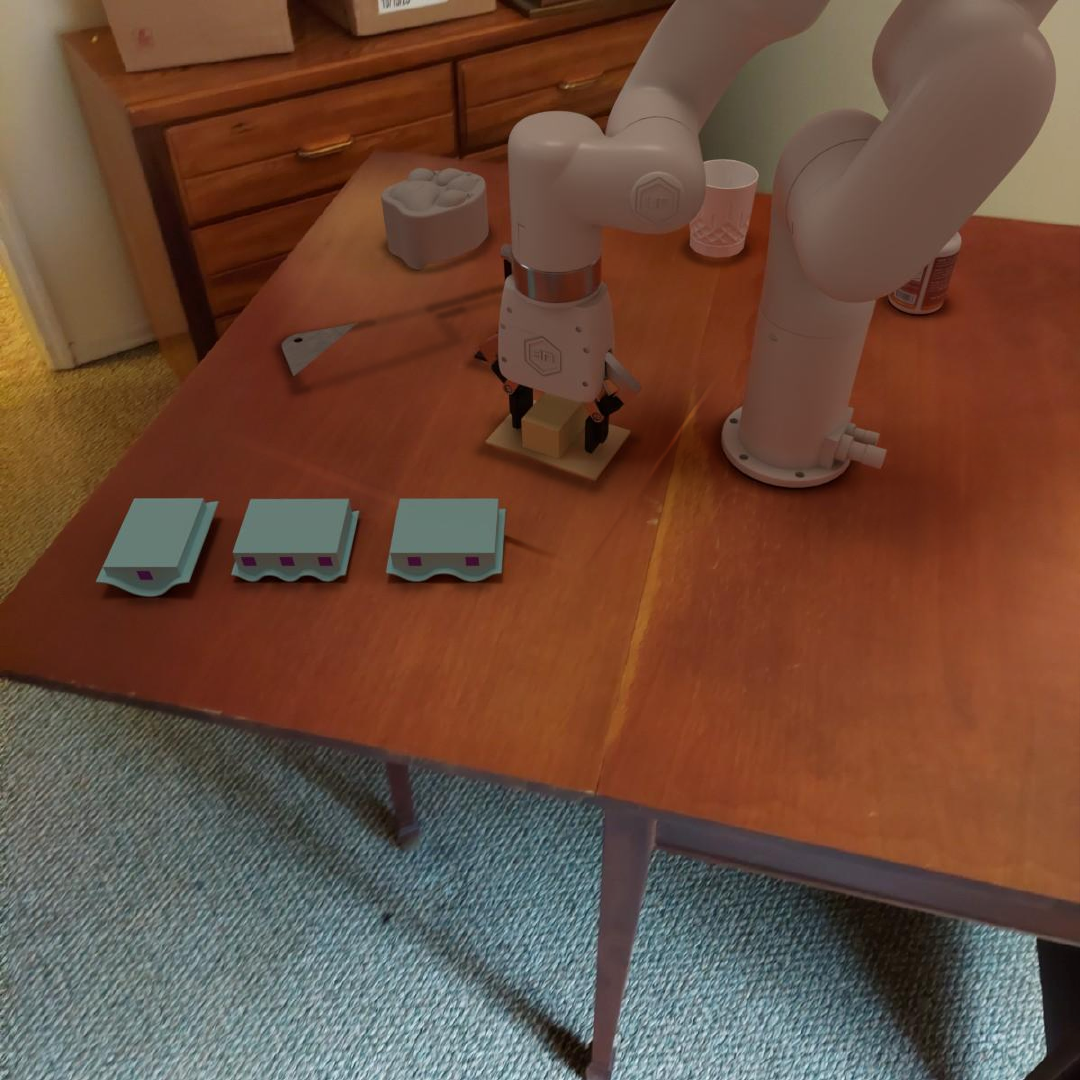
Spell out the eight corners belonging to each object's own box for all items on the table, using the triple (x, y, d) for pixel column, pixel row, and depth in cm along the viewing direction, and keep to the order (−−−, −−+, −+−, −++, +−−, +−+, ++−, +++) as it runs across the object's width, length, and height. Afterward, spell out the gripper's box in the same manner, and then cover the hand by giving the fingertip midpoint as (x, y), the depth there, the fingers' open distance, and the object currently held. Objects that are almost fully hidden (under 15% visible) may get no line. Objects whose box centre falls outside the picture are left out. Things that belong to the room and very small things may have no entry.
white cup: (685, 233, 124) (692, 157, 117) (747, 236, 123) (758, 160, 116) (683, 264, 119) (690, 186, 111) (747, 267, 118) (759, 189, 111)
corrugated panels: (139, 516, 89) (103, 596, 82) (129, 492, 87) (91, 573, 80) (506, 515, 88) (501, 597, 81) (504, 492, 86) (499, 573, 79)
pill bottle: (939, 290, 113) (967, 201, 105) (944, 318, 109) (974, 227, 101) (885, 286, 114) (908, 197, 106) (888, 313, 110) (913, 223, 102)
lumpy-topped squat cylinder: (379, 243, 124) (369, 178, 118) (462, 213, 129) (457, 150, 123) (421, 276, 118) (413, 209, 112) (507, 243, 123) (504, 178, 117)
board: (630, 439, 95) (630, 430, 94) (594, 488, 90) (595, 478, 89) (524, 406, 99) (524, 396, 98) (485, 450, 94) (484, 441, 94)
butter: (551, 413, 96) (550, 384, 94) (586, 424, 95) (587, 396, 93) (522, 447, 93) (521, 418, 90) (558, 459, 91) (558, 431, 89)
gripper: (446, 266, 82) (463, 428, 94) (632, 317, 76) (623, 482, 88) (491, 228, 86) (501, 388, 99) (669, 273, 80) (655, 436, 93)
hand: (558, 431), depth 94 cm, fingers open, 7 cm apart
